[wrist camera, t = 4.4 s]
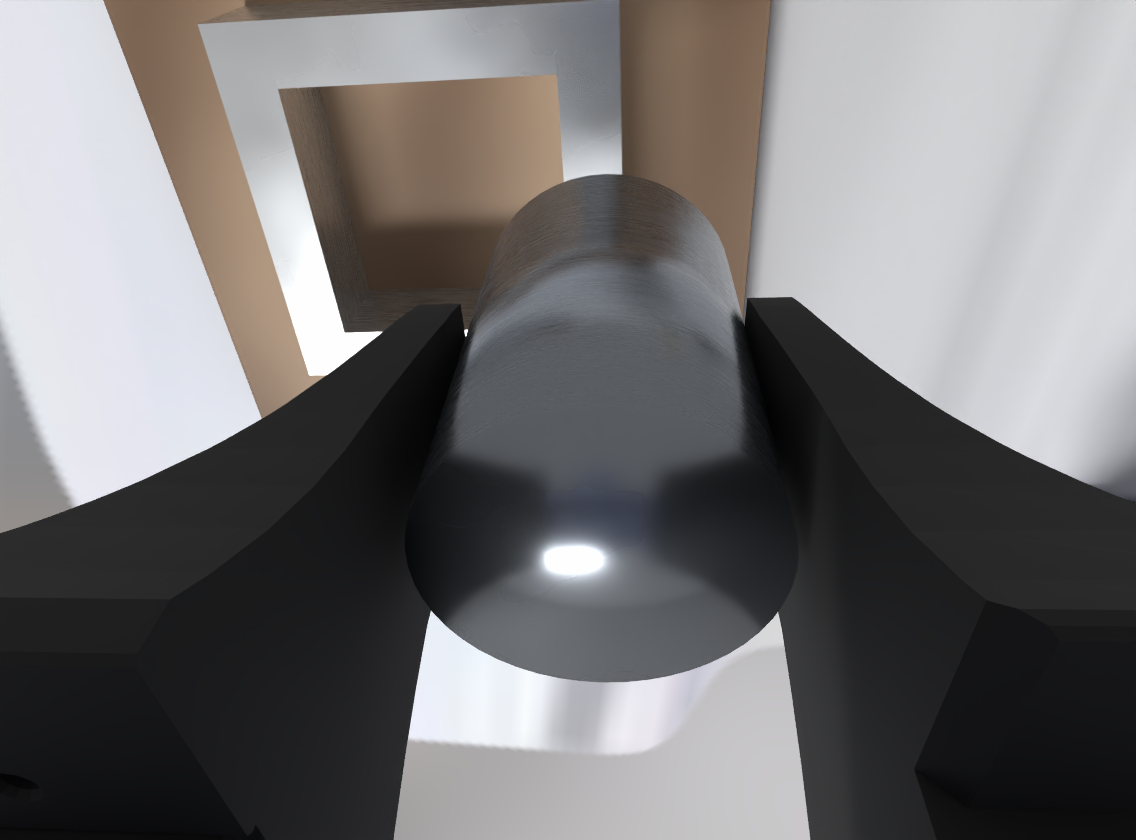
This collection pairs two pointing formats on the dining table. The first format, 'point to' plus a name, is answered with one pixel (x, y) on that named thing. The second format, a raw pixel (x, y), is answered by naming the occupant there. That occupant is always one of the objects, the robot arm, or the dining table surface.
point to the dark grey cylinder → (604, 449)
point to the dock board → (447, 156)
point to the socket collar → (374, 56)
